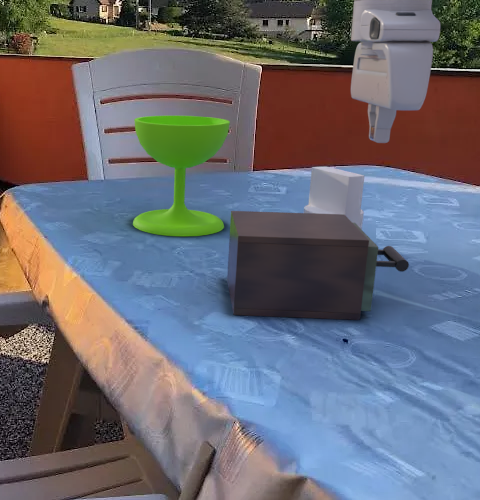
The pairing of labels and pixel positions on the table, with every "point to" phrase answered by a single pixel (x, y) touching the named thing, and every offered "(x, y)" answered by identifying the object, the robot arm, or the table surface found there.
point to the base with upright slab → (336, 193)
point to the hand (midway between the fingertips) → (378, 141)
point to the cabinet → (296, 265)
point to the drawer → (372, 263)
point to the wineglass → (180, 168)
